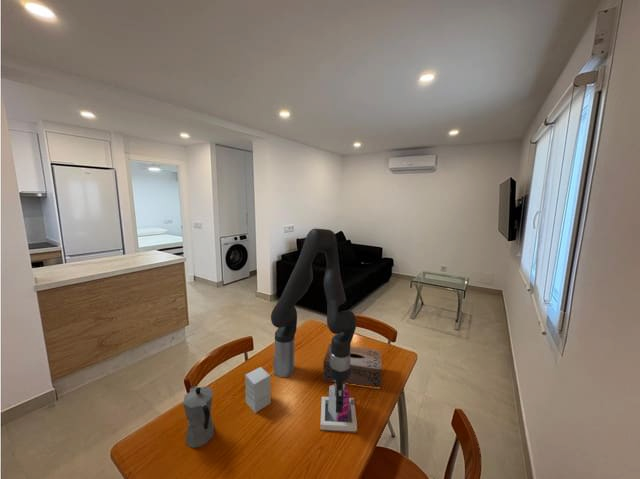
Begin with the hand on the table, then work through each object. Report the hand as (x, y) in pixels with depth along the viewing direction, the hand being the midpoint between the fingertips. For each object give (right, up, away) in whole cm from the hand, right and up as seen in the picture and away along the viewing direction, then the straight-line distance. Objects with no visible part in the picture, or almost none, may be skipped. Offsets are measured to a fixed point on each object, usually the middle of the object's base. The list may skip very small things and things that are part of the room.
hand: (338, 402), depth 95 cm
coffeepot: (-48, -6, -9) cm, 49 cm away
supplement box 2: (0, -5, +1) cm, 6 cm away
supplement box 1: (-32, -4, +6) cm, 33 cm away
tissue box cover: (+8, -3, +25) cm, 26 cm away
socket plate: (0, -6, +1) cm, 6 cm away
